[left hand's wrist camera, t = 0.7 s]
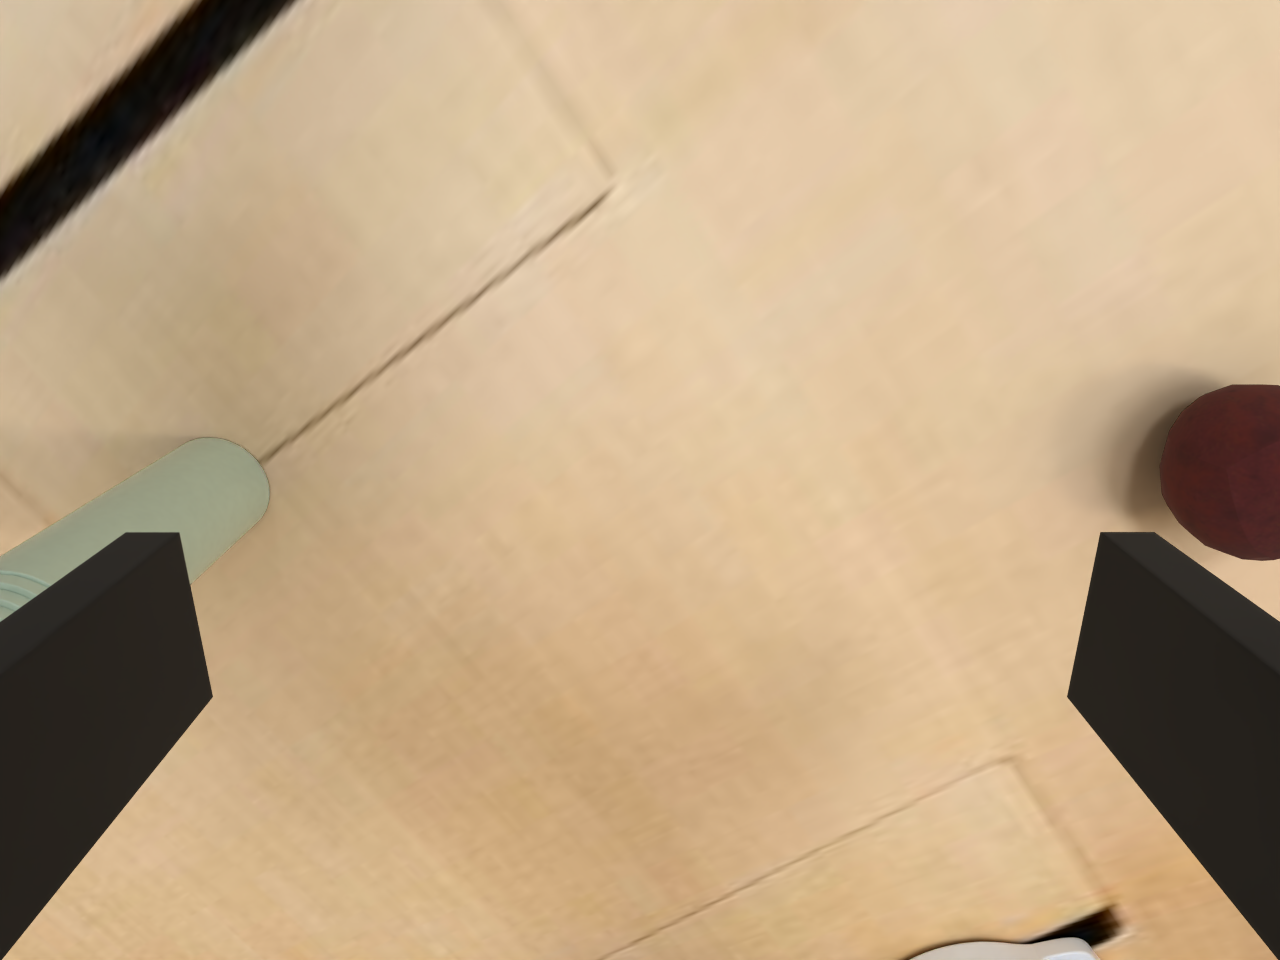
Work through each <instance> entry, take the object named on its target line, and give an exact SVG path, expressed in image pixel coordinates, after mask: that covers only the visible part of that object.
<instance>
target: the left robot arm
mask: <svg viewBox="0 0 1280 960" xmlns="http://www.w3.org/2000/svg"><path fill="white" fill-rule="evenodd" d="M212 697H213V695H212V690H211V685H210V681H209V676H208V671H207V666H206V661H205V656H204V651H203V646H202V641H201V636H200V631H199V626H198V621H197V616H196V611H195V606H194V601H193V597H192V592H191V587H190V582H189V577H188V572H187V567H186V562H185V557H184V552H183V547H182V542H181V537H180V532H125V533H124V534H123V535H121V536H120V537H118V538H117V539H116V540H114V541H113V542H111V543H110V544H109V545H107V546H106V547H104V548H103V549H102V550H100V551H99V552H97V553H96V554H95V555H93V556H92V557H90V558H89V559H88V560H86V561H85V562H83V563H82V564H81V565H79V566H78V567H76V568H75V569H74V570H72V571H71V572H69V573H68V574H67V575H65V576H64V577H62V578H61V579H60V580H58V581H57V582H55V583H54V584H53V585H51V586H50V587H48V588H47V589H46V590H44V591H43V592H41V593H40V594H39V595H37V596H36V597H34V598H33V599H32V600H30V601H29V602H27V603H26V604H25V605H23V606H22V607H20V608H19V609H18V610H16V611H15V612H13V613H12V614H11V615H9V616H8V617H6V618H5V619H4V620H2V621H1V622H0V960H2V959H3V958H4V956H5V955H6V954H7V953H8V951H9V950H10V949H11V948H12V946H13V945H14V944H15V943H16V941H17V940H18V939H19V938H20V936H21V935H22V934H23V933H24V931H25V930H26V929H27V928H28V926H29V925H30V924H31V923H32V921H33V920H34V919H35V918H36V916H37V915H38V914H39V913H40V911H41V910H42V909H43V908H44V906H45V905H46V904H47V903H48V901H49V900H50V899H51V898H52V897H53V895H54V894H55V893H56V892H57V890H58V889H59V888H60V887H61V885H62V884H63V883H64V882H65V880H66V879H67V878H68V877H69V875H70V874H71V873H72V872H73V870H74V869H75V868H76V867H77V865H78V864H79V863H80V862H81V860H82V859H83V858H84V857H85V855H86V854H87V853H88V852H89V850H90V849H91V848H92V847H93V845H94V844H95V843H96V842H97V840H98V839H99V838H100V837H101V836H102V834H103V833H104V832H105V831H106V829H107V828H108V827H109V826H110V824H111V823H112V822H113V821H114V819H115V818H116V817H117V816H118V814H119V813H120V812H121V811H122V809H123V808H124V807H125V806H126V804H127V803H128V802H129V801H130V799H131V798H132V797H133V796H134V794H135V793H136V792H137V791H138V789H139V788H140V787H141V786H142V784H143V783H144V782H145V781H146V779H147V778H148V777H149V776H150V774H151V773H152V772H153V771H154V770H155V768H156V767H157V766H158V765H159V763H160V762H161V761H162V760H163V758H164V757H165V756H166V755H167V753H168V752H169V751H170V750H171V748H172V747H173V746H174V745H175V743H176V742H177V741H178V740H179V738H180V737H181V736H182V735H183V733H184V732H185V731H186V730H187V728H188V727H189V726H190V725H191V723H192V722H193V721H194V720H195V718H196V717H197V716H198V715H199V713H200V712H201V711H202V710H203V709H204V707H205V706H206V705H207V704H208V702H209V701H210V700H211V699H212ZM1067 697H1068V699H1069V700H1070V701H1071V702H1072V704H1073V705H1074V706H1075V707H1076V709H1077V710H1078V711H1079V712H1080V713H1081V715H1082V716H1083V717H1084V718H1085V720H1086V721H1087V722H1088V723H1089V725H1090V726H1091V727H1092V728H1093V730H1094V731H1095V732H1096V733H1097V735H1098V736H1099V737H1100V738H1101V740H1102V741H1103V742H1104V743H1105V745H1106V746H1107V747H1108V748H1109V750H1110V751H1111V752H1112V753H1113V755H1114V756H1115V757H1116V758H1117V760H1118V761H1119V762H1120V763H1121V765H1122V766H1123V767H1124V768H1125V770H1126V771H1127V772H1128V773H1129V775H1130V776H1131V777H1132V778H1133V779H1134V781H1135V782H1136V783H1137V784H1138V786H1139V787H1140V788H1141V789H1142V791H1143V792H1144V793H1145V794H1146V796H1147V797H1148V798H1149V799H1150V801H1151V802H1152V803H1153V804H1154V806H1155V807H1156V808H1157V809H1158V811H1159V812H1160V813H1161V814H1162V816H1163V817H1164V818H1165V819H1166V821H1167V822H1168V823H1169V824H1170V826H1171V827H1172V828H1173V829H1174V831H1175V832H1176V833H1177V834H1178V836H1179V837H1180V838H1181V839H1182V840H1183V842H1184V843H1185V844H1186V845H1187V847H1188V848H1189V849H1190V850H1191V852H1192V853H1193V854H1194V855H1195V857H1196V858H1197V859H1198V860H1199V862H1200V863H1201V864H1202V865H1203V867H1204V868H1205V869H1206V870H1207V872H1208V873H1209V874H1210V875H1211V877H1212V878H1213V879H1214V880H1215V882H1216V883H1217V884H1218V885H1219V887H1220V888H1221V889H1222V890H1223V892H1224V893H1225V894H1226V895H1227V897H1228V898H1229V899H1230V900H1231V901H1232V903H1233V904H1234V905H1235V906H1236V908H1237V909H1238V910H1239V911H1240V913H1241V914H1242V915H1243V916H1244V918H1245V919H1246V920H1247V921H1248V923H1249V924H1250V925H1251V926H1252V928H1253V929H1254V930H1255V931H1256V933H1257V934H1258V935H1259V936H1260V938H1261V939H1262V940H1263V941H1264V943H1265V944H1266V945H1267V946H1268V948H1269V949H1270V950H1271V951H1272V953H1273V954H1274V955H1275V956H1276V958H1277V959H1278V960H1280V622H1279V621H1278V620H1276V619H1275V618H1274V617H1272V616H1271V615H1269V614H1268V613H1267V612H1265V611H1264V610H1262V609H1261V608H1260V607H1258V606H1257V605H1255V604H1254V603H1253V602H1251V601H1250V600H1248V599H1247V598H1246V597H1244V596H1243V595H1241V594H1240V593H1239V592H1237V591H1236V590H1234V589H1233V588H1232V587H1230V586H1229V585H1227V584H1226V583H1225V582H1223V581H1222V580H1220V579H1219V578H1218V577H1216V576H1215V575H1213V574H1212V573H1211V572H1209V571H1208V570H1206V569H1205V568H1204V567H1202V566H1201V565H1199V564H1198V563H1197V562H1195V561H1194V560H1192V559H1191V558H1190V557H1188V556H1187V555H1185V554H1184V553H1183V552H1181V551H1180V550H1178V549H1177V548H1176V547H1174V546H1173V545H1171V544H1170V543H1169V542H1167V541H1166V540H1164V539H1163V538H1162V537H1160V536H1159V535H1157V534H1156V533H1155V532H1100V537H1099V542H1098V547H1097V552H1096V557H1095V562H1094V567H1093V572H1092V577H1091V582H1090V587H1089V592H1088V596H1087V601H1086V606H1085V611H1084V616H1083V621H1082V626H1081V631H1080V636H1079V641H1078V646H1077V651H1076V656H1075V661H1074V666H1073V671H1072V676H1071V681H1070V685H1069V690H1068V695H1067Z"/></svg>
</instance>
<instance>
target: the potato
mask: <svg viewBox="0 0 1280 960" xmlns="http://www.w3.org/2000/svg"><path fill="white" fill-rule="evenodd" d="M1160 476H1161V488H1162V495H1163V497H1164V499H1165V501H1166V503H1167V505H1168V507H1169V508H1170V510H1171V511H1172V513H1173V514H1174V516H1175V518H1176V519H1177V521H1178V522H1179V523H1180V524H1181V525H1182V526H1183V527H1184V528H1185V529H1186V530H1188V531H1189V532H1190V533H1191V534H1192V535H1193V536H1194V537H1196V538H1197V539H1198V540H1199V541H1200V542H1202V543H1203V544H1204V545H1205V546H1208V547H1210V548H1213V549H1216V550H1218V551H1221V552H1224V553H1227V554H1229V555H1232V556H1235V557H1238V558H1240V559H1247V560H1260V561H1264V560H1276V559H1280V386H1279V385H1230V386H1227V387H1224V388H1221V389H1219V390H1216V391H1213V392H1210V393H1207V394H1205V395H1203V396H1201V397H1199V398H1198V399H1197V400H1196V401H1194V402H1193V403H1192V404H1191V405H1189V406H1188V407H1187V408H1186V409H1185V410H1183V411H1182V412H1181V414H1180V415H1179V417H1178V418H1177V420H1176V421H1175V423H1174V424H1173V426H1172V428H1171V429H1170V431H1169V434H1168V437H1167V441H1166V444H1165V448H1164V452H1163V455H1162V459H1161V463H1160Z"/></svg>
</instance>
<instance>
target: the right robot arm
mask: <svg viewBox="0 0 1280 960" xmlns="http://www.w3.org/2000/svg"><path fill="white" fill-rule="evenodd" d="M910 960H1100V958H1099V957H1098V956H1097V955H1096V953H1095V952H1094V951H1093V949H1092V948H1091V947H1090V946H1089V944H1088V943H1087V942H1086V941H1084V940H1082V939H1080V938H1074V937H1068V938H1060V939H1053V940H1048V941H1043V942H1039V943H1034V944H1012V943H1002V942H968V943H960V944H954V945H949V946H945V947H941V948H938V949H934V950H931V951H928V952H925V953H923V954H921V955H918V956H916V957H914V958H912V959H910Z"/></svg>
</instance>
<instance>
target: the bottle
mask: <svg viewBox="0 0 1280 960" xmlns="http://www.w3.org/2000/svg"><path fill="white" fill-rule="evenodd" d="M269 496H270V492H269V484H268V480H267V477H266V474H265V472H264V470H263V468H262V467H261V465H260V464H259V463H258V461H257V460H256V459H255V458H254V457H253V456H252V455H251V454H250V453H249V452H248V451H246V450H245V449H244V448H242V447H240V446H239V445H237V444H235V443H233V442H230V441H227V440H224V439H219V438H210V437H209V438H199V439H195V440H191V441H189V442H187V443H185V444H183V445H182V446H180V447H178V448H177V449H175V450H173V451H172V452H170V453H168V454H167V455H165V456H164V457H162V458H160V459H159V460H157V461H155V462H154V463H152V464H150V465H149V466H147V467H146V468H144V469H142V470H141V471H139V472H137V473H136V474H134V475H133V476H131V477H129V478H128V479H126V480H124V481H123V482H121V483H119V484H118V485H116V486H115V487H113V488H111V489H110V490H108V491H106V492H105V493H103V494H101V495H100V496H98V497H97V498H95V499H93V500H92V501H90V502H88V503H87V504H85V505H83V506H82V507H80V508H79V509H77V510H75V511H74V512H72V513H70V514H69V515H67V516H65V517H64V518H62V519H61V520H59V521H57V522H56V523H54V524H52V525H51V526H49V527H48V528H46V529H44V530H43V531H41V532H39V533H38V534H36V535H34V536H33V537H31V538H30V539H28V540H26V541H25V542H23V543H21V544H20V545H18V546H16V547H15V548H13V549H12V550H10V551H8V552H7V553H5V554H3V555H2V556H0V622H1V621H2V620H4V619H5V618H6V617H8V616H9V615H11V614H12V613H13V612H15V611H16V610H18V609H19V608H20V607H22V606H23V605H25V604H26V603H27V602H29V601H30V600H32V599H33V598H34V597H36V596H37V595H39V594H40V593H41V592H43V591H44V590H46V589H47V588H48V587H50V586H51V585H53V584H54V583H55V582H57V581H58V580H60V579H61V578H62V577H64V576H65V575H67V574H68V573H69V572H71V571H72V570H74V569H75V568H76V567H78V566H79V565H81V564H82V563H83V562H85V561H86V560H88V559H89V558H90V557H92V556H93V555H95V554H96V553H97V552H99V551H100V550H102V549H103V548H104V547H106V546H107V545H109V544H110V543H111V542H113V541H114V540H116V539H117V538H118V537H120V536H121V535H123V534H124V533H125V532H180V537H181V542H182V547H183V552H184V557H185V562H186V567H187V572H188V577H189V582H190V585H191V584H192V583H193V582H194V581H195V580H196V579H197V578H198V577H199V576H200V575H201V574H203V573H204V572H205V571H206V570H207V569H208V568H209V567H210V566H211V565H212V564H213V563H214V562H215V561H216V560H218V559H219V558H220V557H221V556H222V555H223V554H224V553H225V552H226V551H227V550H228V549H229V548H230V547H231V546H233V545H234V544H235V543H236V542H237V541H238V540H239V539H240V538H241V537H242V536H243V535H244V534H245V533H246V532H248V531H249V530H250V529H251V528H252V527H253V526H254V525H255V524H256V523H257V522H258V521H259V520H260V519H261V518H262V517H263V515H264V513H265V512H266V509H267V507H268V503H269Z"/></svg>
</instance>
